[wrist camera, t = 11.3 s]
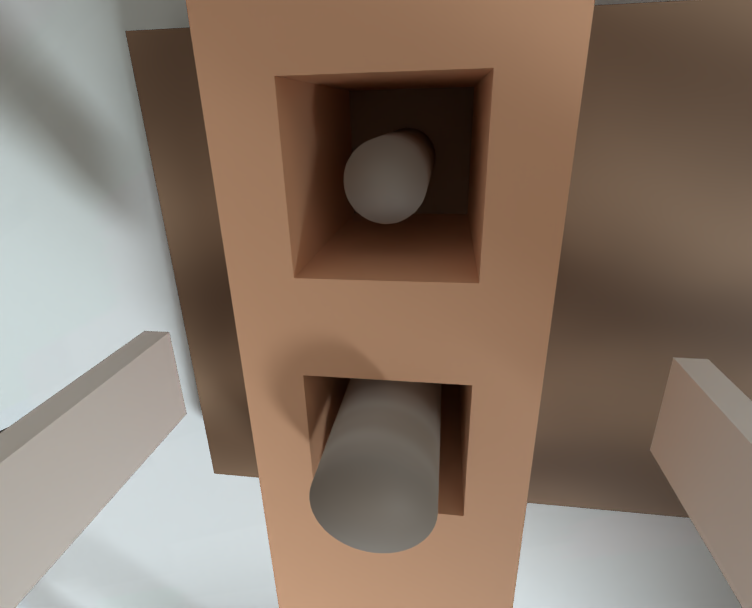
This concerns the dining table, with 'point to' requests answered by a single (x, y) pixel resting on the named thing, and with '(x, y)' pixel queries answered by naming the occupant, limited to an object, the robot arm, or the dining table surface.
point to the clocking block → (392, 265)
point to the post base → (575, 274)
